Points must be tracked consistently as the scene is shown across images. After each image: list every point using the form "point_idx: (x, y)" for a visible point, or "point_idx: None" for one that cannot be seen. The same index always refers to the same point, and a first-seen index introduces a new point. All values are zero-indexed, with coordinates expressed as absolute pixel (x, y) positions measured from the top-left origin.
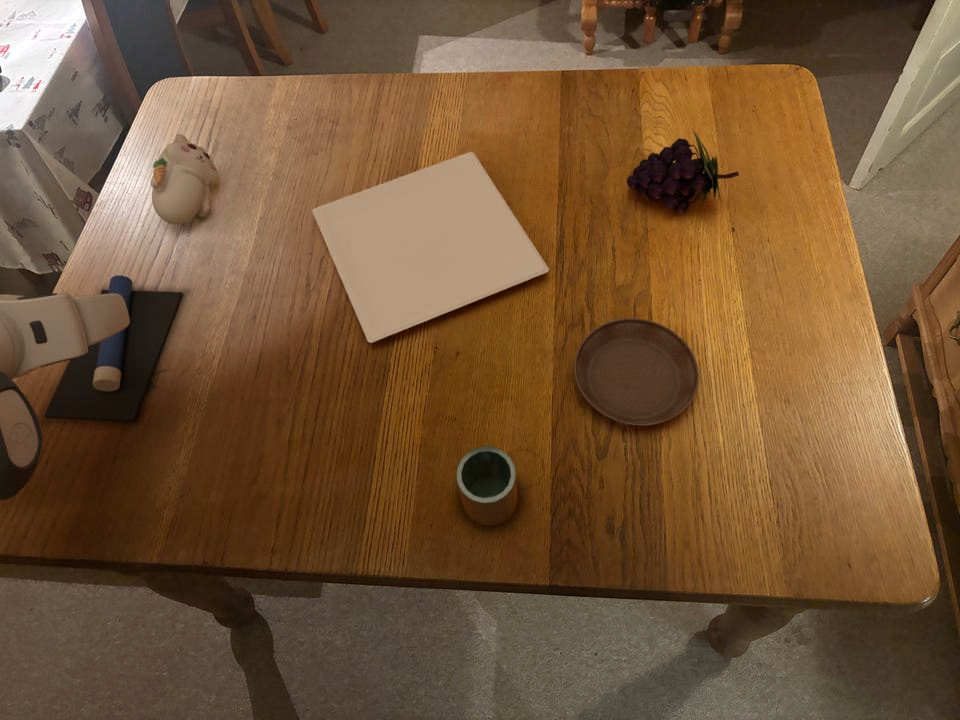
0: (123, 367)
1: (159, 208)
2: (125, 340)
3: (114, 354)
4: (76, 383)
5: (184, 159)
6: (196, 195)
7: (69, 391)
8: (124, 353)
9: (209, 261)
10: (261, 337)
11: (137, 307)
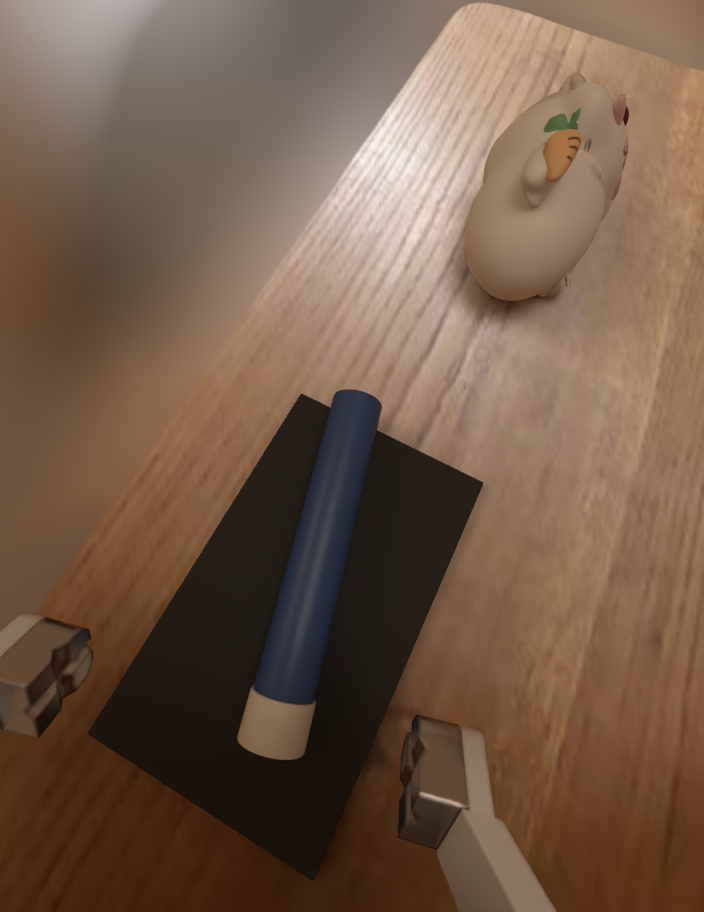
0: None
1: (499, 248)
2: None
3: (316, 655)
4: (190, 658)
5: (606, 140)
6: (587, 247)
7: (168, 677)
8: None
9: (546, 417)
10: (676, 720)
11: (374, 481)
